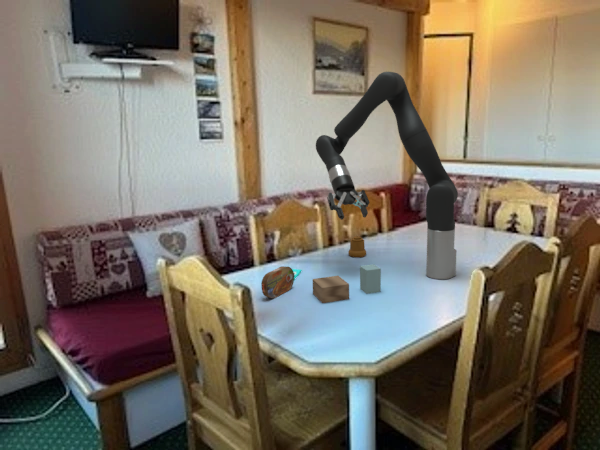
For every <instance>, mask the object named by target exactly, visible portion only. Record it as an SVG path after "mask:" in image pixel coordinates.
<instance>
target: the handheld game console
mask: <svg viewBox="0 0 600 450" xmlns="http://www.w3.org/2000/svg"><path fill="white" fill-rule="evenodd" d="M291 269H292V270H293V273H294V281H295V280H296V279H297V278H298V277H299V276H300V274H301V273H302V272H303V269H297V268H296V269H295V268H291ZM301 271H302V272H301ZM297 276H298V277H297ZM296 277H297V278H296ZM295 278H296V279H295Z"/></svg>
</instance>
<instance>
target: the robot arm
mask: <svg viewBox="0 0 600 450" xmlns="http://www.w3.org/2000/svg"><path fill="white" fill-rule="evenodd" d="M386 101H387V103H388V104H389V105H390V108H391V110H392V111H393V114H394V117H395V120H396V126H397V131H398V135H399V137H400V141H401V143H402V146H403V148H404V149H405V151H406V153H407V155H408V157H409V158H410V159H411V161H412V163H414V165H415V166H416V167H417V168H418V170H420V172H421V173H422V175H423V177H424V178H425V180H426V183H427V185H428V188H429V189H428V190H427V193H426V197H425V198H426V199H425V206H426V207H425V219H426V220H425V221H426V223H427V229H426V230H427V231H426V233H427V234H426V269H425V275H426V277H428V278H431V279H436V280H448V279H452V278H453V277H456V273H457V270H456V269H457V249H455V240H456V239H455V237H456V236H455V235H456V234H455V233H456V221H455V216H454V215H455V203H456V202H457V200H458V195H459V194H458V189H457V187H456V185H455V184H454V182H453V180H452V179H451V177H450V175H449V174H448V173H447V171H446V169H445V167H444V165H443V163H442V161H441V158H440V156H439V154H438V152H437V149H436V146H435V145H434V143H433V140H432V138H431V135H430V134H429V132H428V130H427V128H426V126H425V124H424V122H423V120H422V118H421V116H420V114H419V112H418V110H417V109H416V107H415V106H414V103H413V100H412V98H411V95H410V93H409V90H408V87H407V83H406V82H405V80H404V78H403V76H402V75H401V74H400V73H398V72H394V71H383V72H381V73H379V74H377V76H376V77H375V78H374V80H373V82H372V83H371V85H370V86H369V87H368V89H367V90H366V92H365V93H364V94H363V96H362V97H360V99H359V100H358V102H357V103H356V104H355V105H354V107H353V108H352V109H351V110H350V111H349V112H348V113H347V114H346V115H345V116H344V117H343V118H342V119H341V120H340V121H339V122H338V123H337V125H336V126H334V129H333V132H334V133H335V136H336V137H335V138H334V137H333V136H332V137H331V136H330V135H326V134H322V135H320V136H319V137H317V139H316V142H315V150H316V152H317V155H319V157H320V159H321V161H322V162H323V163H324V165H325V168H326V171H327V173H328V178H329V182H330V184H331V187H332V190H333V193H332V192H329V193H328V195H327V203H328V206H329V210H330V211H335V212H336V214H337V216H338V219H340V220H341V221H342V220H344V219H345V215H344V212H343V211H344V210H343V208H342V207H341V206H342V205H344V206H347V205H354V206H355V207H358V208H359V209H360V213H361V214H362V217H363V218H366V217H367V215H368V206H369V204H370V200H369V198H368V195H367V194H366V191H365V190H364V189H361V191H356V188H355V184H354V181H353V179H352V176H351V173H350V171H349V170H348V168H347V165H346V163H345V160H344V158H343V156H342V155H341V154H342V153H343V152H344V150H345V148H346V146H347V145H348V143H349V141H350V140H351V138H352V137H353V136H355V134H356V133H358V132H359V130H360V129H362V127H363V125H364V124H365V123H366V122H367V119H368V118H369V117H370V115H371V114H372V113H373V111H375V110H376V109H377V108H378V107H379V106H381V104H383V103H384V102H386ZM335 199H336V200H337V201H338V203H337V204H336V203H335Z"/></svg>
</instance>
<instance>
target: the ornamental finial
mask: <svg viewBox="0 0 600 450" xmlns="http://www.w3.org/2000/svg"><path fill="white" fill-rule="evenodd" d="M349 242H350V245H349V249H348V253H347V254H348V256H350V257H351V258H364V257H365V256H366V255H367V250H366V249H365V247H366V246H365V239H363V237H361V236H359V235H355V236H354V237H351V239H350V240H349Z"/></svg>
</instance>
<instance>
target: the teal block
mask: <svg viewBox="0 0 600 450" xmlns="http://www.w3.org/2000/svg"><path fill="white" fill-rule="evenodd" d="M381 269H382V268H381V267H379V266H378V265H375V264H373V263H372V264H366V265H365V264H364V265H360V266H359V285H360V286H359V288H360V290H361V291H362V292H363V293H365V294H366V295H371V294H377V293H381V290H382V289H381V287H382V286H381V285H382V284H381V283H382V282H381V281H382V280H381V279H382V278H381V277H382V276H381V274H382V271H381Z"/></svg>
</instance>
